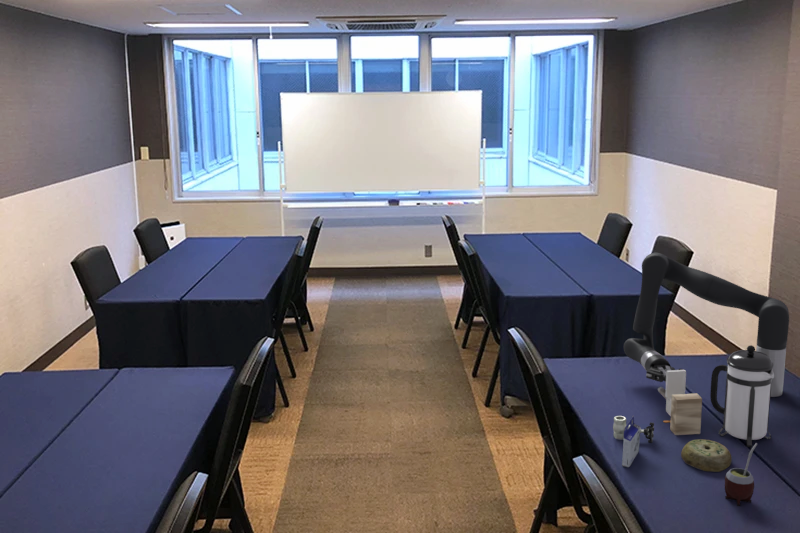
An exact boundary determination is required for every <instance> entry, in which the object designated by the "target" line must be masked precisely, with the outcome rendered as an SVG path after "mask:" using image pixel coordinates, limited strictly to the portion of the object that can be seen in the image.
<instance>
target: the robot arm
mask: <svg viewBox="0 0 800 533" xmlns="http://www.w3.org/2000/svg"><path fill="white" fill-rule="evenodd" d="M664 280H665V281H668V282H672V283H674V284H676V285H678V286H680V287H682V288H683V289H684V290H686V291H688V292H690V293H691V294H693V295H694V296H696V297H698V298H700V299H703V300H705V301H707V302H709V303H712V304H715V305H717V306H718V305H719V306H721V307H722V306H723V307H728V308H733V309H738V310H742V311H745V312H747V313H749V314H752V315H754V316H756V317H757V318H758V322H757V323H758V324H757V336H756V348H755V351H758V352H761V353H764V354H766V355H767V356H769V357H770V359H771V361H772V362H773V364H774V367H773V372H774V378H772V382H771V395H770V398H775V397H781V396H782V395H783V392H784V391H783V389H784V381H785V380H784V379H785V370H786V369H785V368H786V367H785V366H786V357H787V356H786V355H787V354H786V353H787V344H788V343H787V342H788V339H789V338H788V336H789V335H788V334H789V324H790V313H789V307H788V306H787V305H786V303H785V302H783V301H782V300H779V299H777V298H773V297H771V296H767V295H763V294H761V293H756V292H754V291H751V290H748V289H746V288H745V287H742V286H740V285H738V284H736V283H733V282H731V281H729V280H727V279H724V278H721V277H719V276H716V275H715V274H711V273H709V272H706V271H703V270H701V269H696V268H693V267H690V266H687V265H685V264H683V263H680V262H679V261H676V260H675V259H672V258H670V257H668V256H666V255H665V254H663V253H660V252H651V253H649V254H647V255H646V256H645V257H644V258H643V261H642V263H641V287H640V292H639V293H640V294H639V298H638V303H637V305H636V310H635V316H634V319H633V320H634V321H633V325H632V330H633V331H634V332H635V333H636V334H640V335H643V339H642V338H637V337H635V338H634V337H631V338H628V339H627V340H625V342H624V343H623V352H624V353H625V355H626V357H628V358H629V359H631V360H633V361H635V362H638V363H639V364H640V365H641V366H642V367H643V368H644V370H645V371H646V374H645V376H646V379H649V380H653V381H656V382H660V383H663V382H665V383H666V371H670V370H684V369H683V368H678V369H675V368H674V367H673V366H671V363H670V362H669V361H668V360H667V359H666V358H665V357H664V356H663V355H662V354H660V353H659V352H657V351H656V350H655V347H654V333H653V331H654V325H655V321H656V314H657V308H658V307H657V306H658V298H659V293H660V289H661V286H662V284H663V281H664Z"/></svg>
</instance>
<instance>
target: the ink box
mask: <svg viewBox="0 0 800 533" xmlns="http://www.w3.org/2000/svg"><path fill="white" fill-rule="evenodd" d="M629 425H630V427H629ZM628 427H629V428H628ZM640 428H641V426H640V425H638V424H637V423H635V416H634V415H632V417H631V418H630V420H629V421H628V422H627V423H626V427H625V428H624V439H623V444H622V445H623V446H622V460H621V466H622V467H626V468H629V467H631V465H632V464H633V462H634V461H635V460H634V459H635V458H636V457H637V455H638V453H639V450H640V438H641V434H640Z"/></svg>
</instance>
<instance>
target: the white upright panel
mask: <svg viewBox="0 0 800 533" xmlns="http://www.w3.org/2000/svg"><path fill="white" fill-rule="evenodd" d="M686 380H687V371H686V370H685V369H683V370H679V369H678V370H677V369H675V370H670V371H666V382H665V390H666V392H665V397H666V399H665V401H666V402H665V403H666V404H665V412H666V413H667V414H668V415H669V416H670V417H671V400H672V395H675V394H686V383H687V382H686Z"/></svg>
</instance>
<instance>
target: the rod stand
mask: <svg viewBox="0 0 800 533" xmlns="http://www.w3.org/2000/svg"><path fill="white" fill-rule="evenodd" d="M657 391H658V393H659V394H660V395H662V398H664V399H665V400H666V397H665V392H666V388H664V387H663V386H659V387H658V388H657ZM702 406H703V398H702V397H701V396H700V395H699V394H698V393H697V392H696V393H685V394H675V395H672V400H671V416H670V419H668V420H667V419H666V420H663V421H662V422H663V423H665V424H667V423H670V424H669V426H670V427H669V428H670V431H671V433H672V434H674V436H685V435H700V434H701V426H702V410H703V409H702V408H703V407H702Z"/></svg>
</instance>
